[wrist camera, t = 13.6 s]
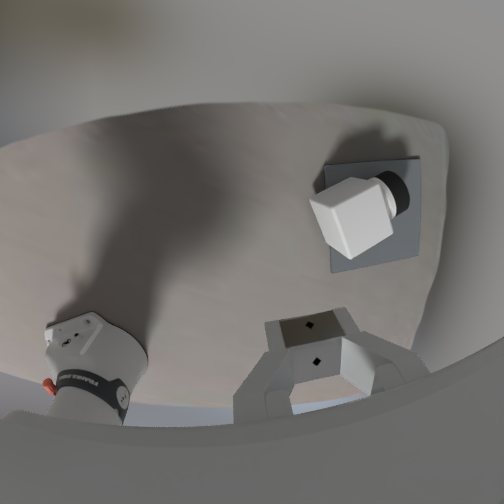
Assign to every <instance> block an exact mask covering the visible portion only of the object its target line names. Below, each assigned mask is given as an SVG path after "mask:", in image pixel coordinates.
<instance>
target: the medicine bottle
mask: <svg viewBox="0 0 504 504" xmlns="http://www.w3.org/2000/svg"><path fill="white" fill-rule="evenodd" d="M309 201H310V204H311V206H312V208H313V211H314V213H315V216H316V218H317V220H318V223H319V225H320V228H321V230H322V233H323V235H324V238H325V241H326V243H327V244H329V245H330V246H332V247H333V248H334V249H336V250H337V251H339V252H340V253H341V254H343V255H344V256H345V257H347V258H348V259H353V258H355V257H356V256H358V255H360V254H361V253H363V252H365V251H366V250H368V249H370V248H371V247H373V246H375V245H376V244H378V243H380V242H381V241H383V240H384V239H386V238H388V237H389V236H391V235H392V234H393V228H392V224H391V219H393V218H394V217H396V216H398V215H399V214H401V213H403V212H404V211H406V210H407V209H408V207H409V204H410V195H409V191H408V188H407V186H406V184H405V183H404V181H403V180H402V179H401V177H400V176H399V175H397V174H396V173H394V172H392V171H388V170H387V171H384V172H382V173H380V174H378V175H376V176H374V177H372V178H371V179H369V180H364V179H359V178H354V177H349V178H347V179H345V180H343V181H341V182H339V183H337V184H335V185H333V186H331V187H329V188H328V189H326V190H324V191H322V192H320V193H318V194H316V195H314V196H312V197H310V198H309Z"/></svg>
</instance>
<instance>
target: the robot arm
mask: <svg viewBox="0 0 504 504" xmlns="http://www.w3.org/2000/svg"><path fill="white" fill-rule="evenodd" d="M88 320H89V321H88ZM265 330H266V336H267V342H268V348H269V351H268V352H265V353H264V354H263V356H262V357H261V359H260V360H259V361H258V363H257V364H256V366H255V367H254V368H253V370H252V371H251V373H250V374H249V375H248V377H247V378H246V379H245V381H244V382H243V383H242V385H241V386H240V387H239V389H238V390H237V391H236V393H235V394H234V395H233V414H234V424H226V425H214V426H196V427H137V426H136V427H135V426H122V425H123V422H124V419H125V416H126V413H127V410H128V405H129V399H130V395H131V393H132V391H133V389H134V388H135V386H136V384H137V382H138V381H139V379H140V378H141V377H142V375H143V374H144V373H145V371H146V369H147V365H148V361H147V356H146V354H145V352H144V350H143V348H142V347H141V345H140V344H139V343H138V342H137V341H136V340H135V339H134V338H133V337H132V336H131V335H129V334H128V333H127V332H125V331H123V330H122V329H120V328H118V327H116V326H113V325H111V324H109V323H107V322H106V321H105V320H104V319H103V318H101V317H100V316H99V315H98V314H96V313H94V312H89V313H87V314H84V315H81V316H78V317H75V318H72V319H70V320H67V321H64V322H61V323H58V324H55V325H53V326H50V327H47V328H46V330H45V340H46V343H47V346H48V348H47V350H46V354H45V358H46V362H47V365H48V367H49V369H50V371H51V372H52V374H53V376H54V377H55V379H56V386H55V385H54V384H53V382H52V380H51V379H50V378H47V379H46V380H44V381H43V383H42V384H43V387H44V388H46V390H47V392H48V393H50V394H52V393H53V395H54V396H55V398H54V400H53V402H52V404H51V406H50V408H49V410H48V412H47V414H46V415H41V414H37V413H32V412H29V411H24V410H14V411H12V412H10V413H8V414H7V415H6V416H4V417H3V418H2V419H0V504H504V337H502V338H500V339H499V340H497V341H495V342H494V343H492V344H490V345H488V346H487V347H485V348H483V349H481V350H479V351H477V352H476V353H474V354H472V355H470V356H468V357H466V358H464V359H462V360H460V361H458V362H456V363H453V364H451V365H449V366H447V367H445V368H443V369H440V370H438V371H436V372H433V373H430V371H429V370H428V369H427V367H426V366H425V364H424V363H423V362H422V360H421V359H420V357H419V356H418V355H417V353H415V352H412V351H410V350H408V349H405V348H403V347H401V346H398V345H396V344H394V343H391V342H389V341H387V340H384V339H382V338H379V337H377V336H375V335H372V334H370V333H368V332H366V331H362V332H360V330H359V328H358V327H357V325H356V323H355V322H354V320H353V319H352V317H351V315H350V314H349V312H348V311H347V309H346V308H345V307H340V308H337V309H332V310H330V311H326V312H321V313H316V314H311V315H307V316H300V317H294V318H288V319H281V320H279V321H278V320H276V321H270V322H265ZM338 374H340V376H342V377H343V378H345V379H346V380H347V381H349V382H350V383H351V384H353V385H354V386H356V387H357V388H358V389H360V390H361V391H363V392H364V393H366V394H367V395H368V397H365V398H361V399H358V400H355V401H351V402H347V403H344V404H340V405H336V406H332V407H328V408H324V409H320V410H315V411H311V412H306V413H301V414H296V415H293V412H292V407H291V403H290V399H289V396H290V394H291V392H292V389H293V387H294V384H298V383H302V382H307V381H311V380H315V379H319V378H324V377H329V376H334V375H338Z"/></svg>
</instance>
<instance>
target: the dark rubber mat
mask: <svg viewBox="0 0 504 504" xmlns="http://www.w3.org/2000/svg"><path fill="white" fill-rule="evenodd" d="M323 167H324V176H325V187H326V189H328V188H329V187H331V186H333V185H335V184H337V183H339V182H341V181H343V180H345V179H347V178H349V177H354V178H359V179H364V180H369V179H371V178H372V177H374V176H376V175H378V174H380V173H382V172H384V171H387V170H388V171H392V172H394V173H396V174H397V175H399V176H400V177H401V179H402V180H403V181H404V183H405V184H406V186H407V188H408V191H409V195H410V204H409V207H408V209H407V210H406V211H404V212H403V213H401V214H399V215H398V216H396V217H394V218H393V219H391V224H392V228H393V234H392V235H391V236H389V237H388V238H386V239H384V240H383V241H381V242H380V243H378V244H376V245H375V246H373V247H371V248H370V249H368V250H366V251H365V252H363V253H361V254H360V255H358V256H356V257H355V258H353V259H348V258H347V257H345V256H344V255H343V254H341V253H340V252H339V251H337V250H336V249H334V248H333V247H332V246H330V262H331V273H332V274H333V273H338V272H343V271H348V270H353V269H358V268H363V267H368V266H372V265H377V264H382V263H387V262H391V261H396V260H401V259H405V258H410V257H414V256H418V250H419V237H420V215H421V171H420V159H404V160H385V161H370V162H357V163H346V164H335V165H325V166H323Z"/></svg>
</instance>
